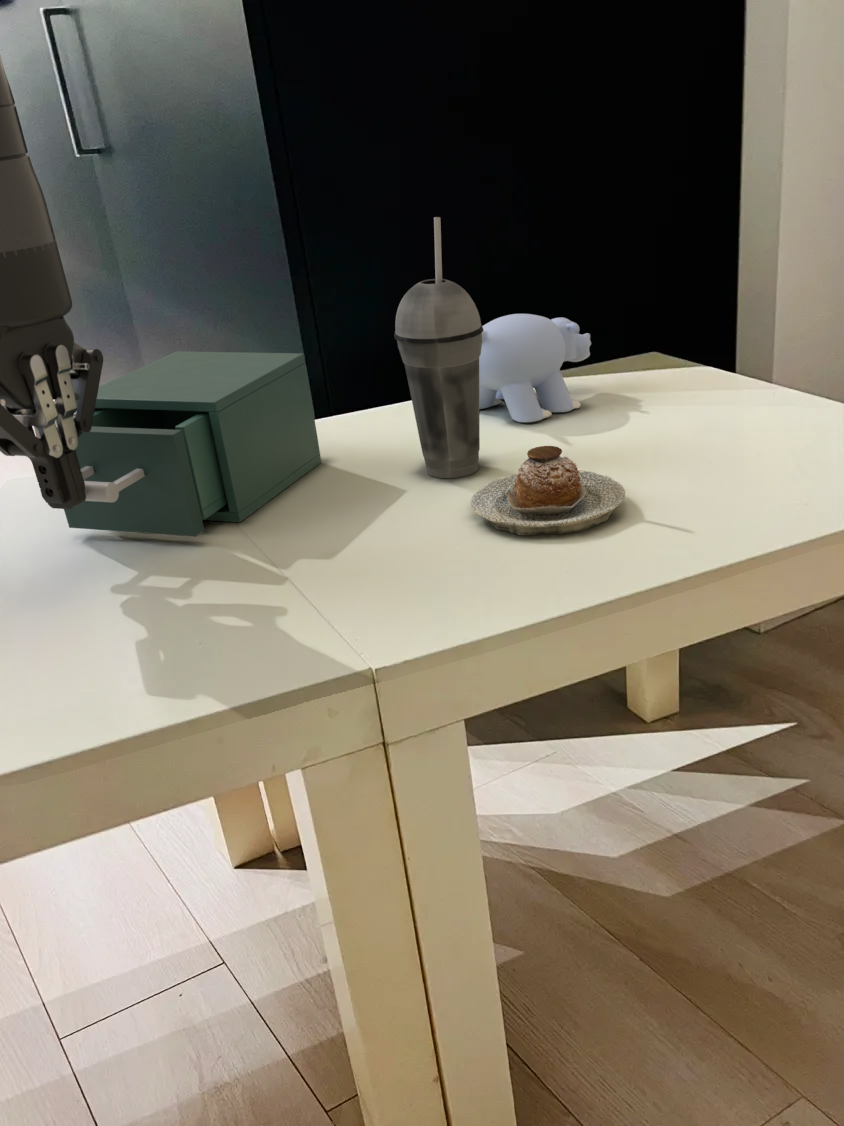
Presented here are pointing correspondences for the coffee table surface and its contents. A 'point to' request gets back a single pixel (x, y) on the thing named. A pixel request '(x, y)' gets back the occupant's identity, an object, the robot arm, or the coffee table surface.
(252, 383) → the cabinet
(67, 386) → the robot arm
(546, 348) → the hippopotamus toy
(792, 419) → the coffee table surface
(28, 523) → the coffee table surface
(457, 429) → the beverage cup
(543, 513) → the pastry
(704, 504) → the coffee table surface
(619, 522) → the coffee table surface
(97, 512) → the drawer
